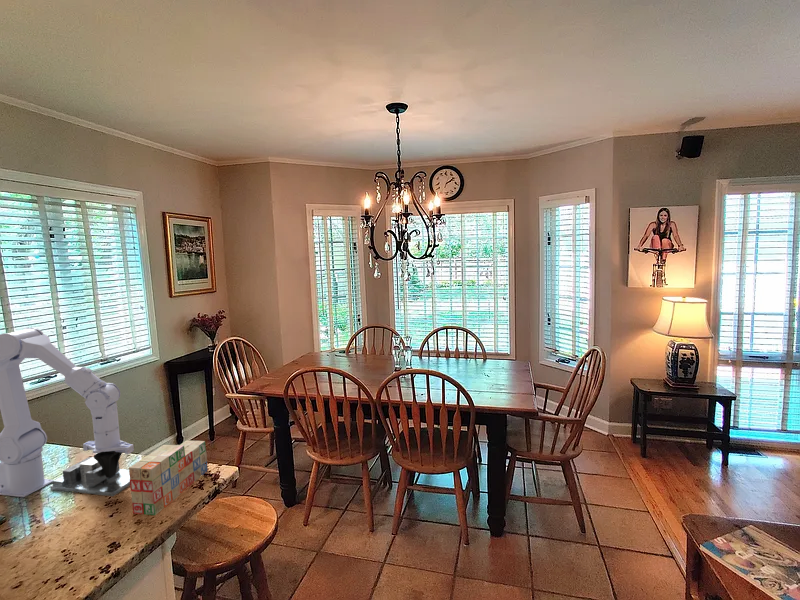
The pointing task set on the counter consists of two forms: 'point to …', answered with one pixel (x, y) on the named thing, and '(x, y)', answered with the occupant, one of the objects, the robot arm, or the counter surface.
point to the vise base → (106, 487)
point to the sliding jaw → (97, 475)
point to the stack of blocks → (165, 475)
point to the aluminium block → (87, 467)
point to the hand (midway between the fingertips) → (111, 475)
